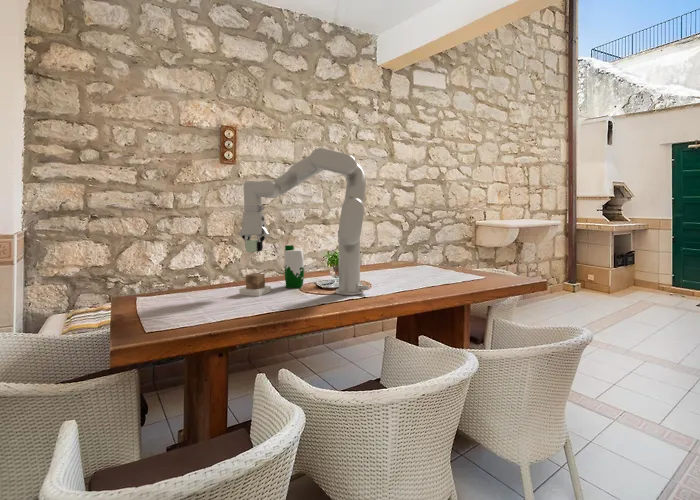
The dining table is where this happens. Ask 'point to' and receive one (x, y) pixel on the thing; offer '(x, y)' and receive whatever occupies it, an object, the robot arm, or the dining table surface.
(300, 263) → the milk carton
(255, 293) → the stone base
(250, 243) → the sage block
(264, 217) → the robot arm
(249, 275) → the walnut block
